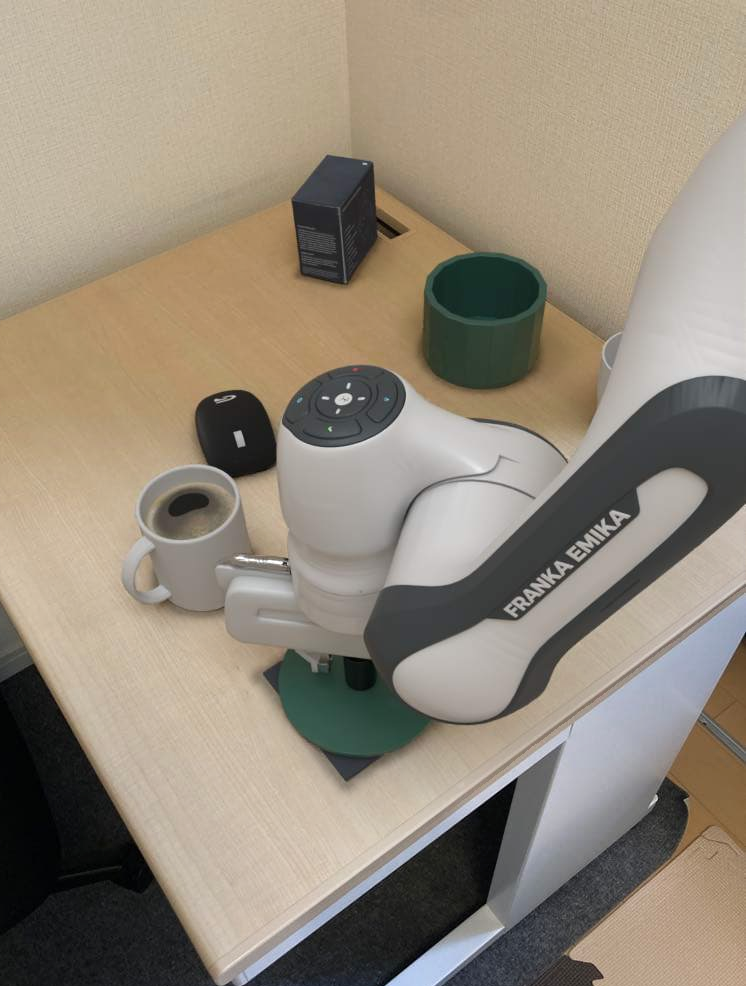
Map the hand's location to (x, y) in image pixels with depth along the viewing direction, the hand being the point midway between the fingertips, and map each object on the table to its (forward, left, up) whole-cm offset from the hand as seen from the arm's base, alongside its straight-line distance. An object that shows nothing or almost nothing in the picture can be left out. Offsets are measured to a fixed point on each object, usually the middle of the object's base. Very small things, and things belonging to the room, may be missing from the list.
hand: (361, 670), depth 74 cm
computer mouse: (+18, -27, -3) cm, 33 cm away
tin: (-6, -44, -3) cm, 44 cm away
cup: (-22, -33, -3) cm, 40 cm away
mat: (0, 0, -3) cm, 3 cm away
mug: (+17, -9, -3) cm, 19 cm away
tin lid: (0, 0, -2) cm, 2 cm away
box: (+13, -60, -3) cm, 61 cm away
